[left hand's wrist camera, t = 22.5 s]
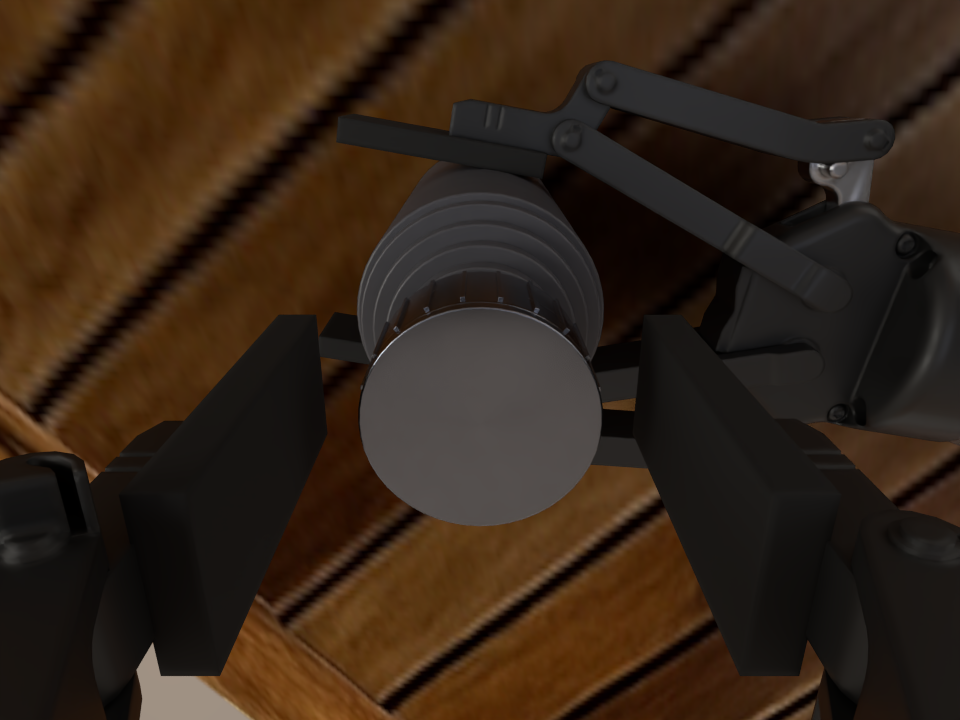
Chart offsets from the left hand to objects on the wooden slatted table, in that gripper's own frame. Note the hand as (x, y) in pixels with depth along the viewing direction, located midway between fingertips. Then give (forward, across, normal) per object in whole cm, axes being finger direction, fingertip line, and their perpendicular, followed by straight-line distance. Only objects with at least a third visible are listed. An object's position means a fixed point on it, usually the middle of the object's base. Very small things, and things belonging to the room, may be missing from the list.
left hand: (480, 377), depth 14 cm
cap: (-2, 0, 0) cm, 2 cm away
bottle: (+17, 0, 0) cm, 17 cm away
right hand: (+10, -5, +1) cm, 11 cm away
